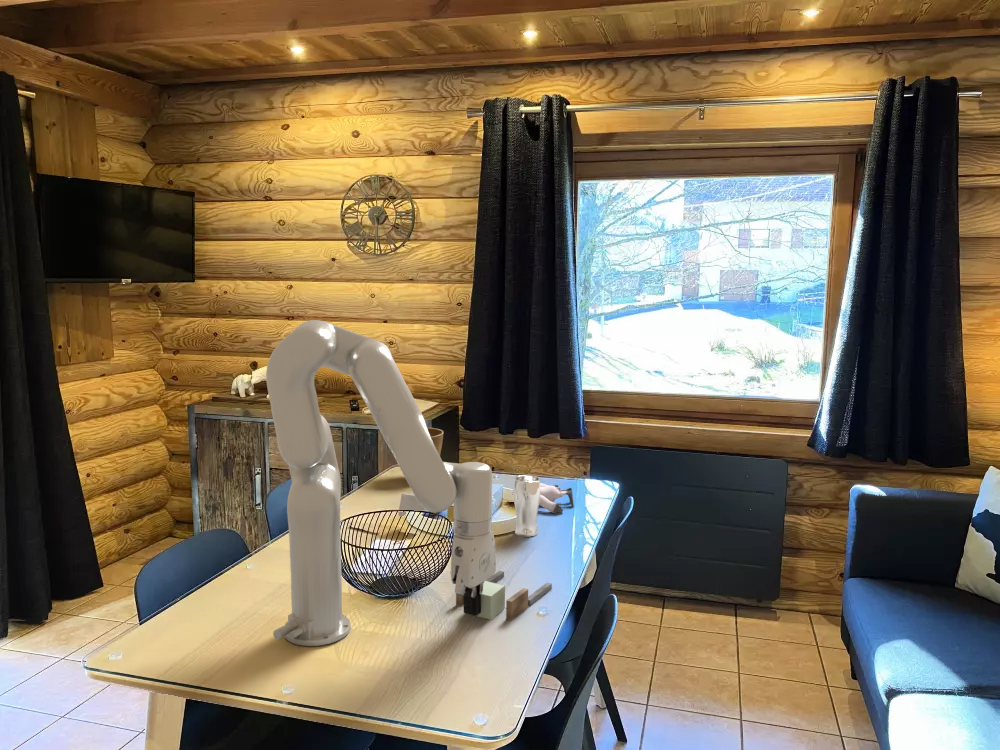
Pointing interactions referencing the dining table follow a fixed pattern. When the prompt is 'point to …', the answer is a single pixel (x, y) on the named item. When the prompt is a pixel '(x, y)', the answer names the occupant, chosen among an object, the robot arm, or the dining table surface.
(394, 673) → the dining table surface
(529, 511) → the beer glass
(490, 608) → the sage block
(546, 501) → the yeti figurine
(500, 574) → the rails
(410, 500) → the light grey tapered block
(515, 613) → the walnut channel
